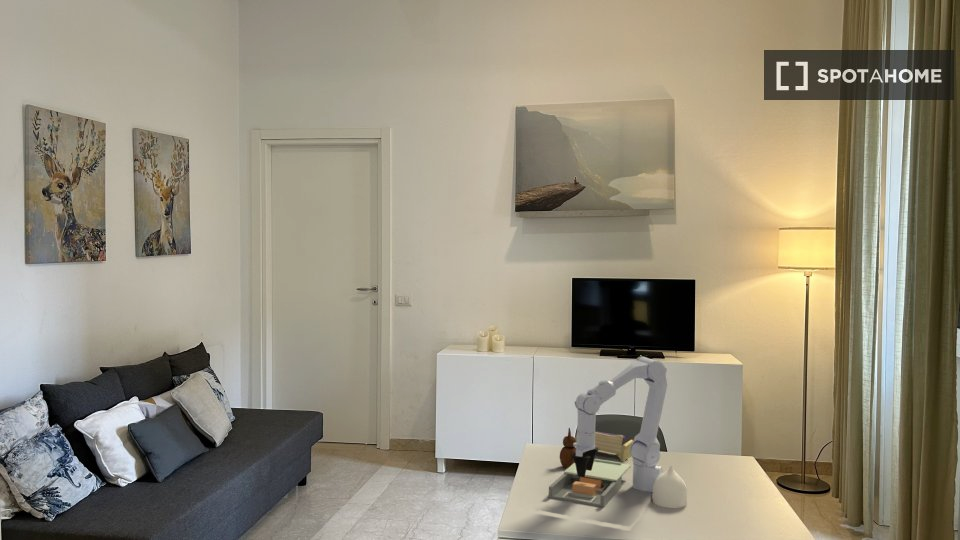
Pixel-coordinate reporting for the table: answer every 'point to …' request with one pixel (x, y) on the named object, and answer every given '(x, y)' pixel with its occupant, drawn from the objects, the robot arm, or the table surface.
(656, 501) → the teardrop
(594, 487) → the block
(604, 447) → the toy sofa
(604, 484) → the housing
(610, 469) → the lid
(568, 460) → the wooden figurine
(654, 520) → the table surface
